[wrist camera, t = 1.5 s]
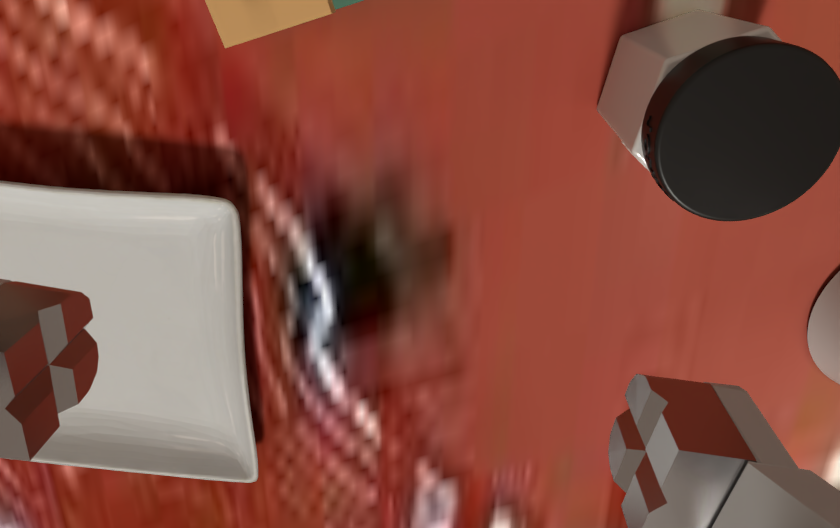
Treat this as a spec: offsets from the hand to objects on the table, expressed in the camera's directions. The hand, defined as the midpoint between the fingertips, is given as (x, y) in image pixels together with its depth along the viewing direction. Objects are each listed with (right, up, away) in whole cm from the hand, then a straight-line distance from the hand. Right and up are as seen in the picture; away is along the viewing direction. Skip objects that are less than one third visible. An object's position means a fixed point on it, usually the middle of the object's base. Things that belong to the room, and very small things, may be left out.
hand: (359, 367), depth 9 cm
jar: (+16, +13, +28) cm, 35 cm away
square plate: (-26, -3, +40) cm, 48 cm away
